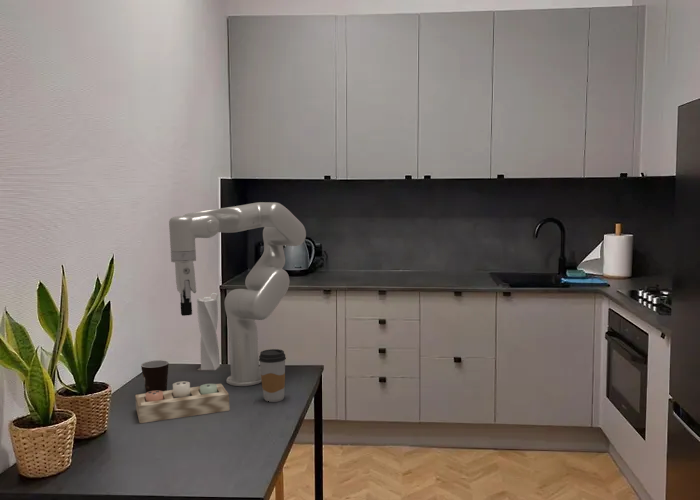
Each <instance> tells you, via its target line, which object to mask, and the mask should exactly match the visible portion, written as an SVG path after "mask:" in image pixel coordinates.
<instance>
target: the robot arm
mask: <svg viewBox="0 0 700 500" xmlns="http://www.w3.org/2000/svg"><path fill="white" fill-rule="evenodd" d="M168 227H169V228H168V229H169V243H170V244H169V245H170V262H171V263H174V267H175V268H174V269H175V270H174V271H175V282H176V289H177V292H179V295H180V315H181V316H183V317H185V316H186V317H187V316H191V315H193V305H192V293H193V294H196V293H197V283H196V272H195V266H194V265H195V264H194V262H196V261H197V255H196V254H197V252H196V239H211V238H213V237H214V236H217V234H218V233H225V234H227V233H228V234H229V233H230V234H231V233H238V232H244V231H247V230H254V229H258V228H263V230H262V239H263V247H264V248H263V253H262V255H261V257H259V259H258V260H257V261H256V263H255V264H254V265H253V267H252V268H251V270H250V271H249V272H248V274H247V275H246V277H245V287H246V288H235V289H232V290H230V291H229V292H228V293H227V294H226V296H225V298H224V311H225V314H226V317H227V318H226V319H227V324H228V336H229V337H228V339H229V342H228V343H229V358H230V359H229V360H230V375H229V376H228V377H227V378H226V384H228V385H230V386H234V387H235V386H236V387H247V386H255V385H258V384H262V380H261V368H260V361H259V356H260V355H259V337H258V336H259V335H258V334H259V333H258V332H259V331H258V326H257V323H256V321H255V320H257V321H264V320H265V319H267V318H269V317H270V316H271V315H272V313H273V312H274V311H275V310H276V309H277V307H278V305H279V304H280V303H281V301H282V300H283V298H284V297H285V295H286V294H287V292H288V289H289V287H290V276H289V274H288V272H287V271H286V270H285V269H284V267H285V264H286V256H285V251H284V250H285V249H284V246H286V247H298V246H301V245H302V244H303V243H305V240H306V238H307V231H306V228H305V226H304V224H303V223H302V221H300V220H299V219H298V218H297V217H296V216H295V215H294V214H293V213H292V211H290V210H289V209H288V208H286V206H284V205H283V204H281V203H280V202H275V201H274V202H272V201H271V202H270V201H269V202H266V201H265V202H263V201H262V202H261V201H260V202H253V203H246V204H241V205H236V206H235V205H233V206H228V207H221V208H217V209H216V208H214V209H208V210H200V211H194V212H189V213H184V215H182V216H181V215H178V216H172V217H171V218H170V219H169V221H168Z"/></svg>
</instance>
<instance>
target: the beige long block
mask: <svg viewBox="0 0 700 500" xmlns="http://www.w3.org/2000/svg"><path fill="white" fill-rule="evenodd" d="M215 384H216V385H217V393H211V394H203V395H201V394H200V386H201V385H200V386H199V385H198V386H193V387H191V386H190V396H188V397H180V398H173V389H170V390H168V389H167V391H162V392H163V400H158V401H150V402H146V395H145V394H146V392H145V393H138V394H135V395H134V396H135V410H136V414H137V417H138V418H137V419H138V422H139V424H144V423H153V422H156V421H157V422H158V421H166V420H172V419H179V418H187V417H193V416H200V415H201V416H202V415H206V414H207V415H208V414H215V413H221V412H229V411H230V394H229V392H228V391H227V390H226V388H225V387H224V385H223V384H222V383H215Z"/></svg>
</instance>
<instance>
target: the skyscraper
mask: <svg viewBox="0 0 700 500" xmlns="http://www.w3.org/2000/svg"><path fill="white" fill-rule="evenodd" d="M213 295H216V297H215V299H214V298H212V296H213ZM218 296H219V294H218V293H216V292H212V293H211V294H210V296H204V297H203V298H200V297H199V298H197V299H196V309H197V311H196V312H197V321H198V329H199V332H200V366H199V368H198V369H196V371H217V370H218V369H219V368H220V367H221V366H222V364H221V363H220V360H221V359H220V348H219V347H220V346H219V340H218V335H217V329H218V323H219V322H218V320H219V311H218V310H219V307H218Z"/></svg>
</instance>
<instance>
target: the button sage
mask: <svg viewBox="0 0 700 500" xmlns="http://www.w3.org/2000/svg"><path fill="white" fill-rule="evenodd" d="M216 384H217V383H205V384H204V383H203V384H201V385H200V394H201V395H203V394H211V393H217V385H216Z"/></svg>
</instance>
